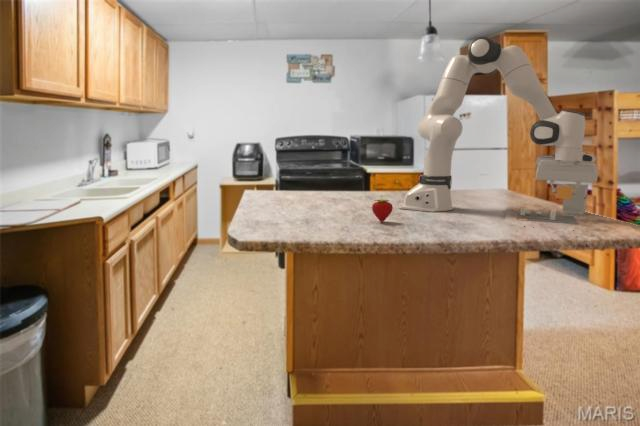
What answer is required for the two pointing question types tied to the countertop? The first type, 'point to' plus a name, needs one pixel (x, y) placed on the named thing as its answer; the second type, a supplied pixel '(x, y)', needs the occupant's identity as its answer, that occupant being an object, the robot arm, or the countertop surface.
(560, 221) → the breaker panel
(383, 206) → the strawberry
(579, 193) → the supplement box
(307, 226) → the countertop surface
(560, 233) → the countertop surface
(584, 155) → the robot arm
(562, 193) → the orange block
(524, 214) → the untagged breaker
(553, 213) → the tagged breaker
